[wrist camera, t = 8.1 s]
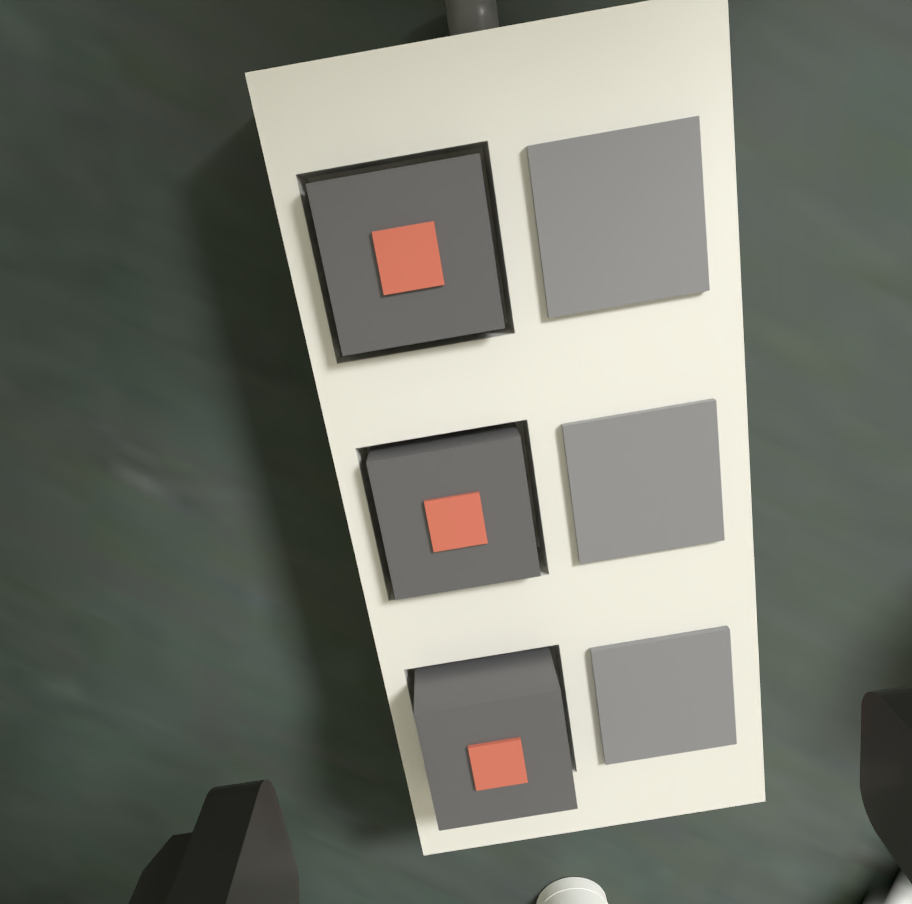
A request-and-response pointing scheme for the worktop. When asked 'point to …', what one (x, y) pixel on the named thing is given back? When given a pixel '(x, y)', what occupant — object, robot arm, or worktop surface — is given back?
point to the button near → (408, 254)
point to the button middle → (454, 510)
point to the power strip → (563, 382)
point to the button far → (494, 738)
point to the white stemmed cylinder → (572, 892)
